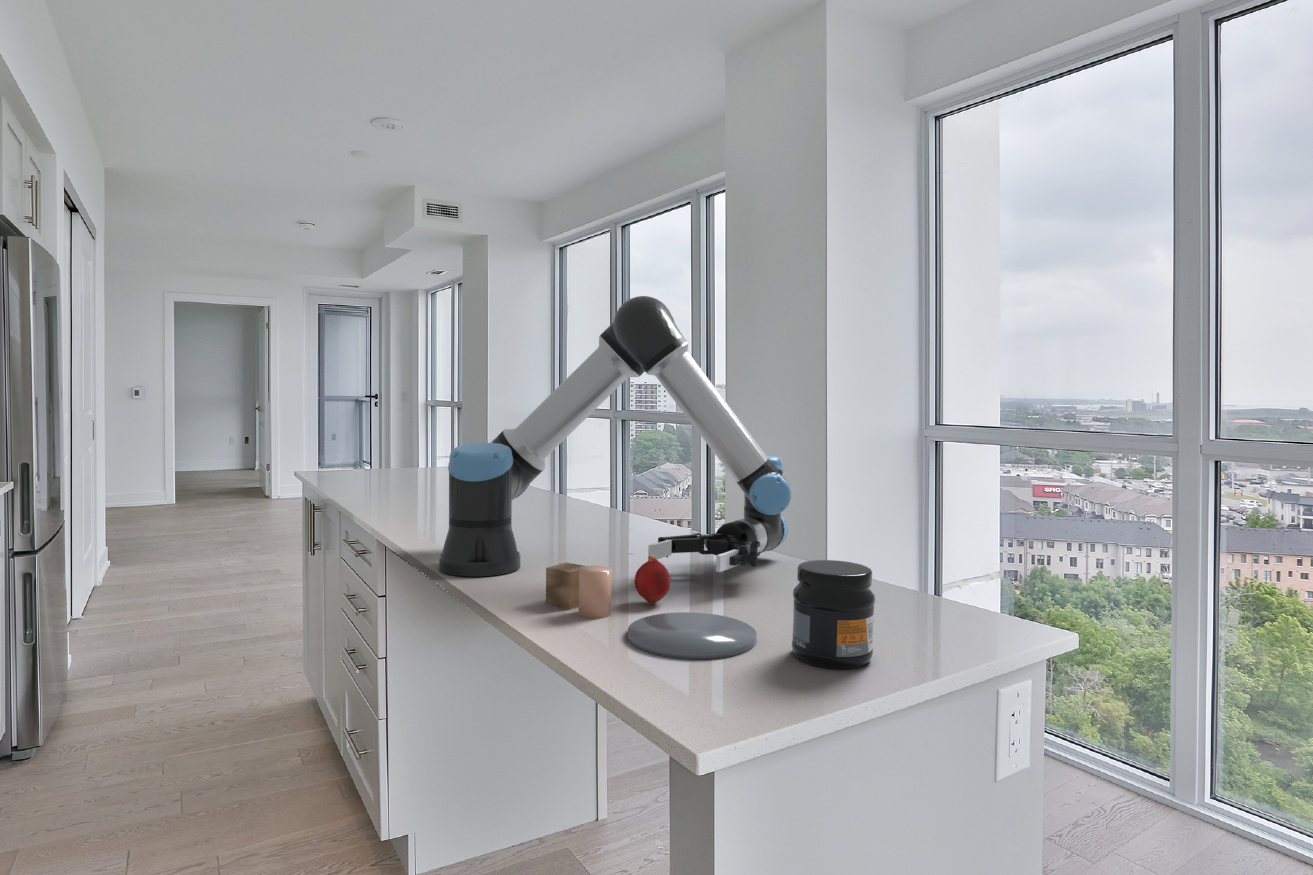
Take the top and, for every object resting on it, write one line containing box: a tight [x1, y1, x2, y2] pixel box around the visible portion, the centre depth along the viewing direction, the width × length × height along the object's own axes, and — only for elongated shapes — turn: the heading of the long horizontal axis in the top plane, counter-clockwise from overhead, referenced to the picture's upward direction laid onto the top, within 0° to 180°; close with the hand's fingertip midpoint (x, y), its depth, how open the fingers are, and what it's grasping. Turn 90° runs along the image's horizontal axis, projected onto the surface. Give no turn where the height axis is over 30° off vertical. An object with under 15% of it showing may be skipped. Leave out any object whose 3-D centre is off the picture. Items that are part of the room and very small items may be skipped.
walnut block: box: [545, 562, 585, 611], centre depth 127 cm, size 5×5×6 cm
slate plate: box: [627, 611, 757, 660], centre depth 111 cm, size 18×18×1 cm
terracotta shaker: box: [577, 565, 613, 620], centre depth 122 cm, size 5×5×7 cm
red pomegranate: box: [633, 555, 672, 605], centre depth 128 cm, size 6×6×8 cm
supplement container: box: [791, 559, 876, 670], centre depth 104 cm, size 10×10×12 cm
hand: (683, 558), depth 135 cm, fingers open, 13 cm apart
